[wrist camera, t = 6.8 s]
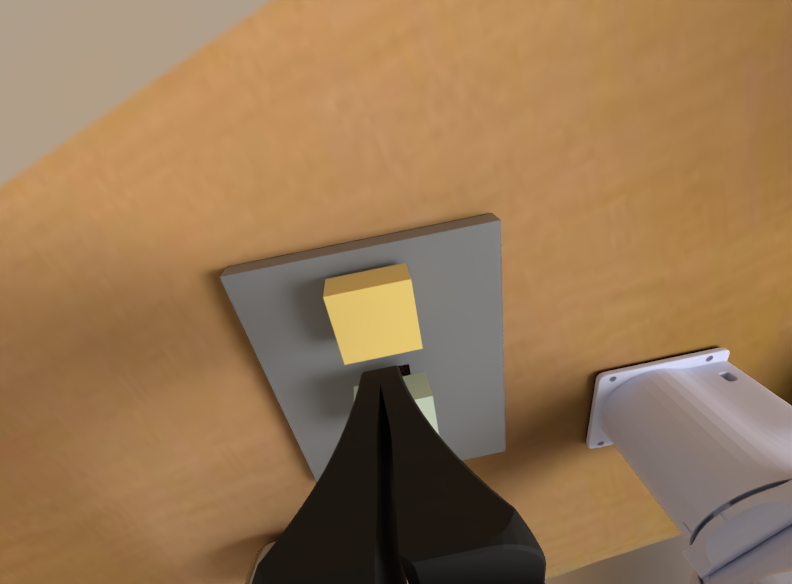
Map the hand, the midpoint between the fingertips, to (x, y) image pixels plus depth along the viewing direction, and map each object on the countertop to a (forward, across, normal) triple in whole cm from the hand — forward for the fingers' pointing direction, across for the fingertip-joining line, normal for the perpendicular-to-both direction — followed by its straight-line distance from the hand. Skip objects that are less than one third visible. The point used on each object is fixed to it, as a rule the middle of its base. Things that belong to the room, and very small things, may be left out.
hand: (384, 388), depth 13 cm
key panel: (+8, 0, +6) cm, 10 cm away
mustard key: (+7, 0, 0) cm, 7 cm away
